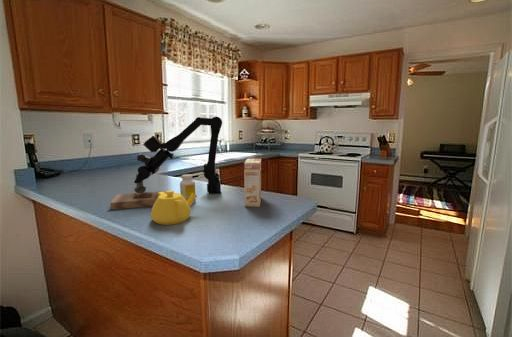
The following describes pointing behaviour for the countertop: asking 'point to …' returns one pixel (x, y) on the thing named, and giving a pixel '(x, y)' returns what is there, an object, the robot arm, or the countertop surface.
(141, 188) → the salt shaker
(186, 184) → the supplement bottle
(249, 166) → the coffeecake box
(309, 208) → the countertop surface
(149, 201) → the board
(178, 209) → the teapot
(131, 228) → the countertop surface
